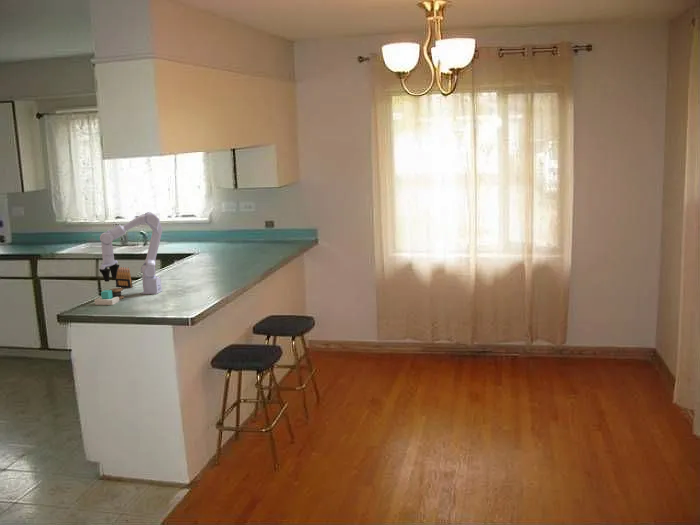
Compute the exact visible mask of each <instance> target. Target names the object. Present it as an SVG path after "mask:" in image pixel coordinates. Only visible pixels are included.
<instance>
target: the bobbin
mask: <svg viewBox="0 0 700 525" xmlns="http://www.w3.org/2000/svg"><path fill="white" fill-rule="evenodd" d="M109 290H112V296H113V298H114V297H119V300H121V299H124V298H125V296H124V295H122V291H124V288H122V287H115V288H110V289H109Z"/></svg>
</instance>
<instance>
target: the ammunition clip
mask: <svg viewBox="0 0 700 525" xmlns="http://www.w3.org/2000/svg"><path fill="white" fill-rule="evenodd" d="M131 275H132V274H131V270H130V268H129V267H124V266H122V267H121V266H120V267H119V268H118V271H117V277H116V278H115V288H123V289H133V287H134V286H133V281H132V278H131Z"/></svg>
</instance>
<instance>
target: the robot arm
mask: <svg viewBox="0 0 700 525" xmlns="http://www.w3.org/2000/svg"><path fill="white" fill-rule="evenodd" d="M146 224H147V225H148V226H149V228H150V229H151V230H152V232H151V237H150V242H149V246H148V249H147V254H146V258H145V260H144V262H143V264H142V265H141V267H140V272H141V274H142V276H141V279H142V289H143V290H142V292H140V295H156V294H157V295H158V294H159V293H161V292H163V289H162V288H163V286H162V279H161V277H159V276H156V272H157V271H156V259H157V255H158V251H159V247H160V244H161V243H160V241H161V238H162V234H163V226H162V223H161V220H160V218H159V217H158V216H157V215H156V214H154V213H152V212H150V211H149V212H148V211H147V212H145V213H143V214H142V213H141V214H140V215H139V216H136V217H135V218H133V219H131V220H130V221H129V222H127V223H124V224H123V225H121V224H119V225H117V224H115V225H114V227H112V228H110V229H107V230H106V232H102V233H101V234H100V236H99V241H100V242H101V243H100V246H101V255H102V263H101V265H100V266H99V272H100V273H101V275H102V277H103V280H104V282H106V283H107V282H108V283H109V282H110V274H111V279H116V277H117V271H118V268H120V264H118V263H119V262H118V260H115V256H114V247H113V241H116V240H117V239H119V238H120V237H122V236H124V235H126V232H127V231H128V230H131V229H133V228H134V227H137V226H139V225H146Z"/></svg>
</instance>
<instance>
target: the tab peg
mask: <svg viewBox="0 0 700 525" xmlns="http://www.w3.org/2000/svg"><path fill="white" fill-rule="evenodd" d="M100 297H102V299H112V298H113V296H112V290H110V289H105V290H102V291H101V292H100Z"/></svg>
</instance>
